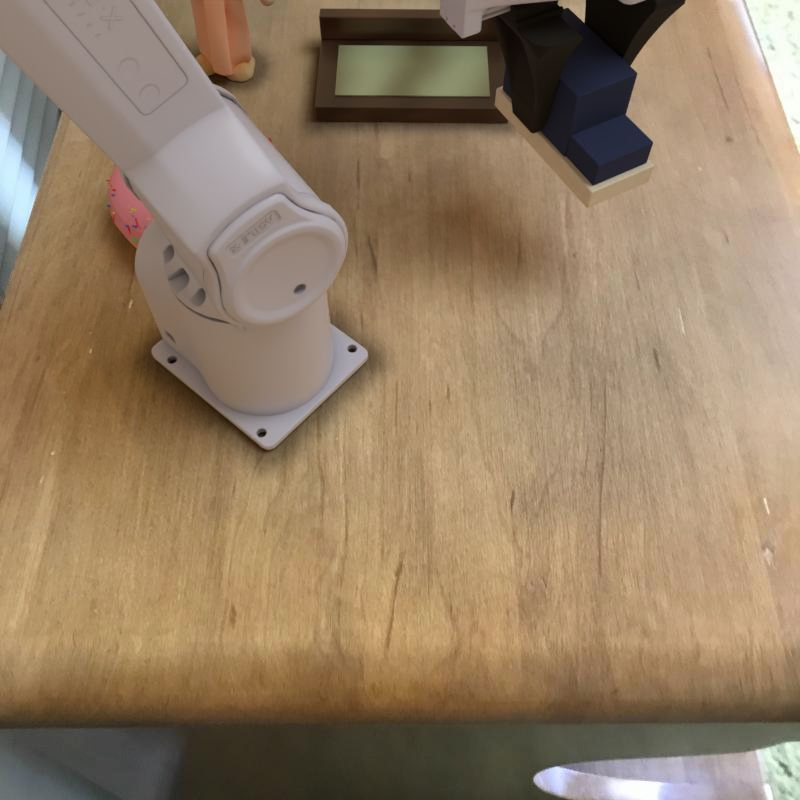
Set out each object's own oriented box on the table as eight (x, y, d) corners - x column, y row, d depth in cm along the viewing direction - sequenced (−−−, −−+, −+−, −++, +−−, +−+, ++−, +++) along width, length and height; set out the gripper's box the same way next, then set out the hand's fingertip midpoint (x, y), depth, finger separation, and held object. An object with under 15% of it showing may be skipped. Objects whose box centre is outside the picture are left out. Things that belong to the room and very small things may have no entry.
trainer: (493, 105, 47) (503, 25, 42) (552, 82, 48) (568, 2, 43) (586, 209, 43) (607, 132, 38) (649, 182, 44) (676, 104, 39)
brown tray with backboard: (316, 121, 56) (311, 84, 54) (323, 45, 60) (319, 7, 58) (508, 123, 56) (513, 86, 54) (502, 47, 60) (506, 9, 58)
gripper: (517, -71, 29) (483, 204, 41) (825, -172, 33) (714, 107, 45) (418, -161, 32) (413, 118, 44) (710, -244, 36) (634, 34, 48)
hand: (559, 108), depth 45 cm, fingers closed on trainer, 3 cm apart
